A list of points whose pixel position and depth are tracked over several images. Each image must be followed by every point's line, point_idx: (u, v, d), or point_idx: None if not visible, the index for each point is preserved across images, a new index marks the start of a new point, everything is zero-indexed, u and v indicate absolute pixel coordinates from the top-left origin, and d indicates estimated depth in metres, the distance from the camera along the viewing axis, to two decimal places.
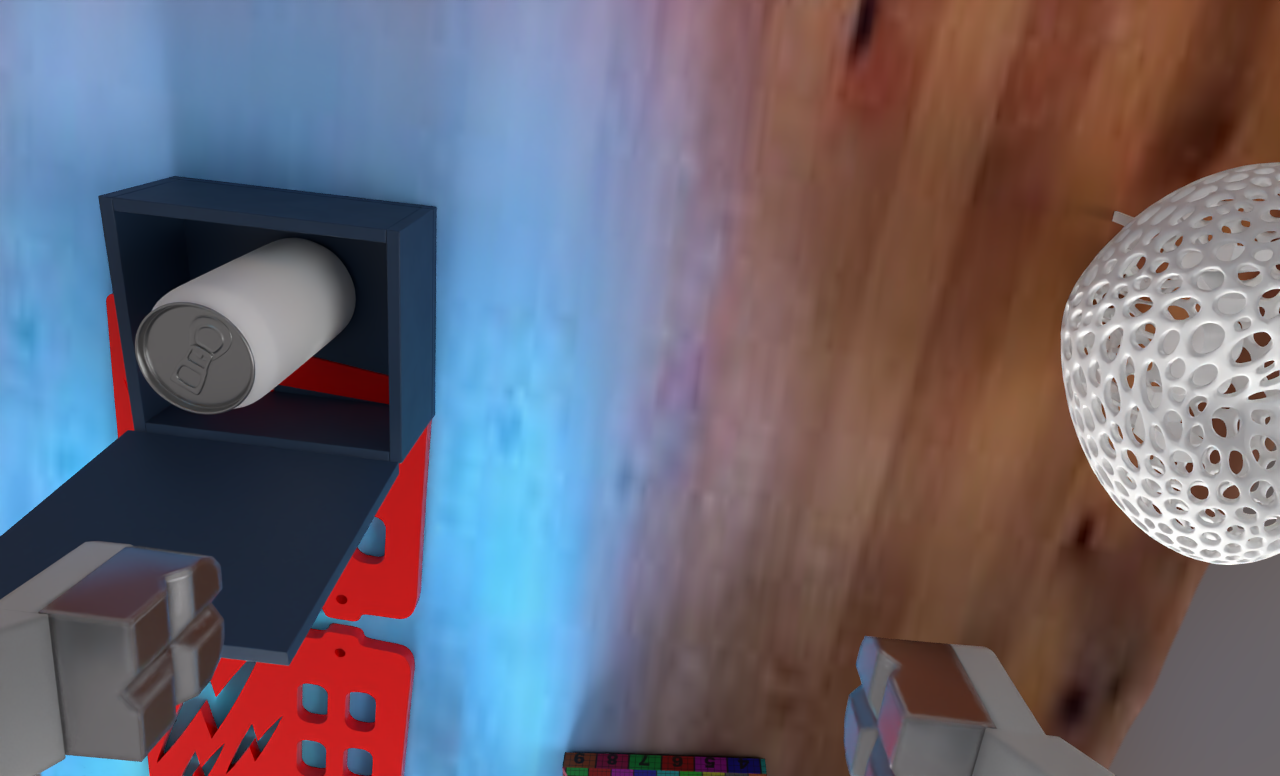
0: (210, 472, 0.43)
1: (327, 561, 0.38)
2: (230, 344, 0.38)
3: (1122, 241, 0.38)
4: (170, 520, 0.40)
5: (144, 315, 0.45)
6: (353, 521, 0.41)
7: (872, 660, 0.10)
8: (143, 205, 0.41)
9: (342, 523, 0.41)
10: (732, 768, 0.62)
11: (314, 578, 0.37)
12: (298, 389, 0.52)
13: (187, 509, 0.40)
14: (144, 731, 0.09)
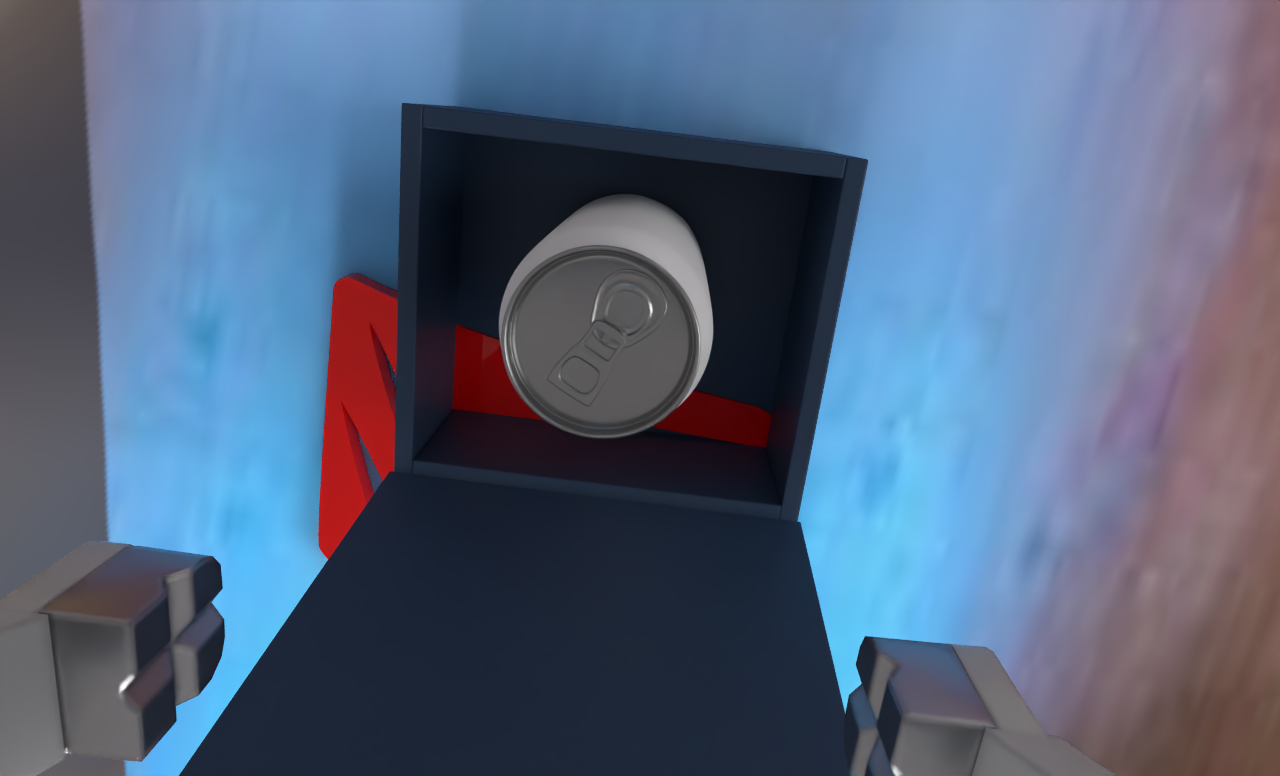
0: (544, 536, 0.27)
1: (819, 690, 0.22)
2: (662, 319, 0.23)
3: None
4: (527, 615, 0.24)
5: (427, 297, 0.30)
6: (807, 617, 0.25)
7: (872, 660, 0.10)
8: (470, 118, 0.27)
9: (795, 621, 0.25)
10: None
11: (822, 723, 0.21)
12: None
13: (544, 597, 0.25)
14: (144, 731, 0.09)
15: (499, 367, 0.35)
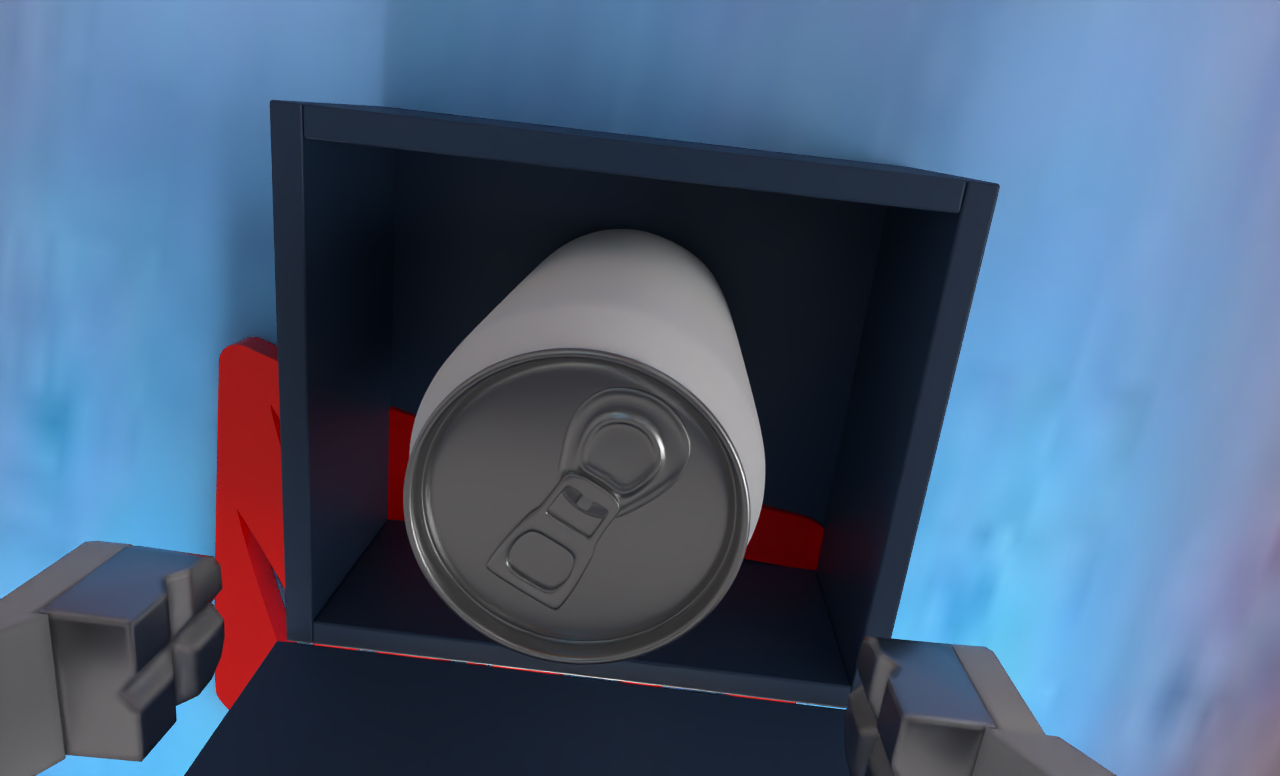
0: (497, 767, 0.18)
1: None
2: (683, 470, 0.13)
3: None
4: None
5: (329, 387, 0.20)
6: None
7: (872, 661, 0.10)
8: (377, 123, 0.17)
9: None
10: None
11: None
12: None
13: None
14: (144, 731, 0.09)
15: None
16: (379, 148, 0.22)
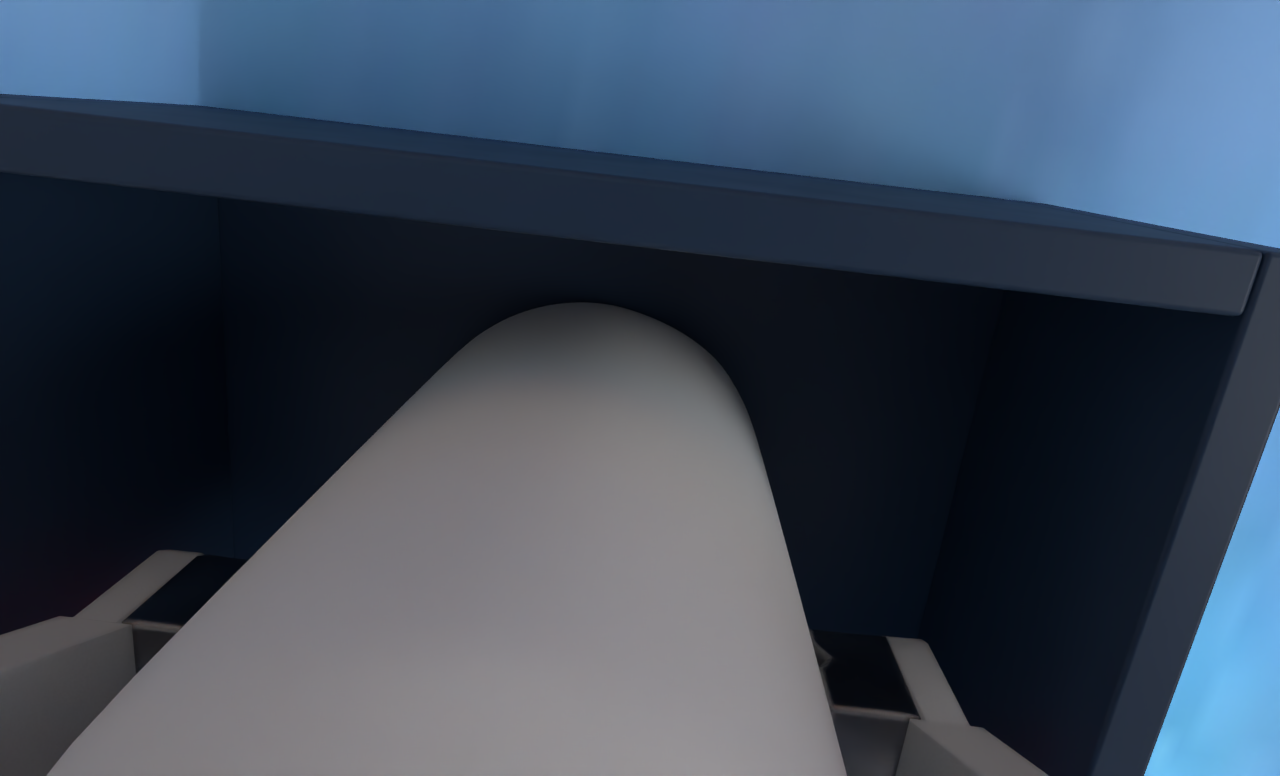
0: None
1: None
2: None
3: None
4: None
5: (57, 595, 0.12)
6: None
7: None
8: (54, 132, 0.08)
9: None
10: None
11: None
12: None
13: None
14: None
15: None
16: None
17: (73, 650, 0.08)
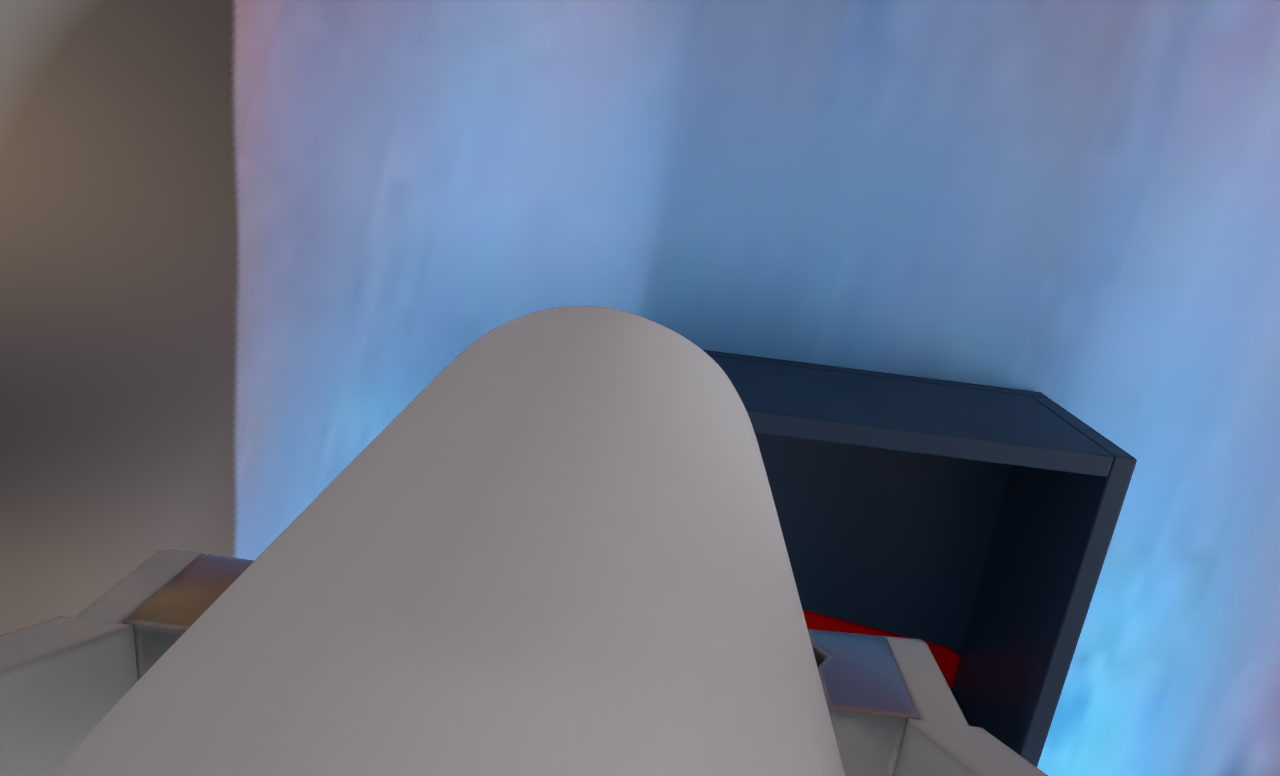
0: None
1: None
2: None
3: None
4: None
5: None
6: None
7: None
8: None
9: None
10: None
11: None
12: None
13: None
14: None
15: None
16: None
17: (73, 650, 0.08)
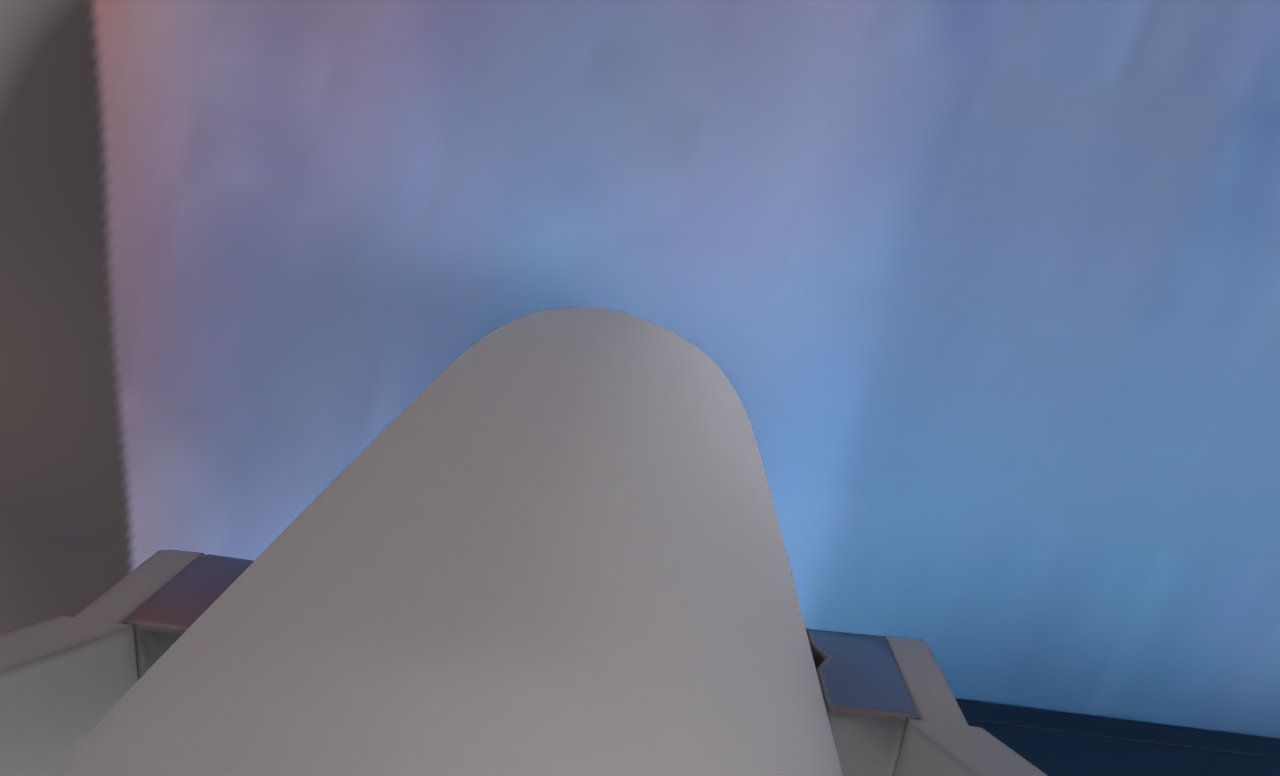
0: None
1: None
2: None
3: None
4: None
5: None
6: None
7: None
8: None
9: None
10: None
11: None
12: None
13: None
14: None
15: None
16: None
17: (73, 651, 0.08)
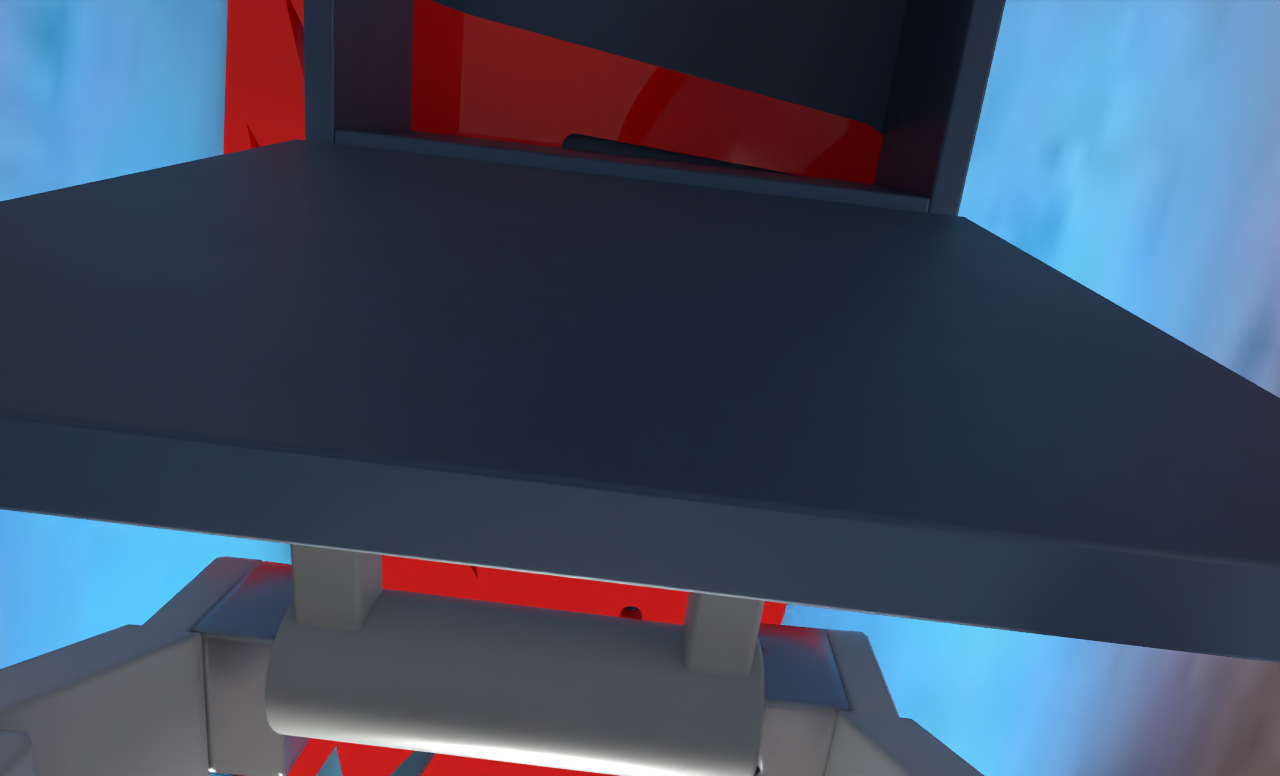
0: (547, 190, 0.16)
1: (1134, 333, 0.10)
2: None
3: None
4: (516, 234, 0.12)
5: None
6: (1043, 275, 0.13)
7: None
8: None
9: (1024, 276, 0.13)
10: None
11: (1177, 364, 0.09)
12: (615, 144, 0.25)
13: (548, 224, 0.13)
14: (287, 749, 0.09)
15: (479, 63, 0.24)
16: None
17: (145, 660, 0.08)
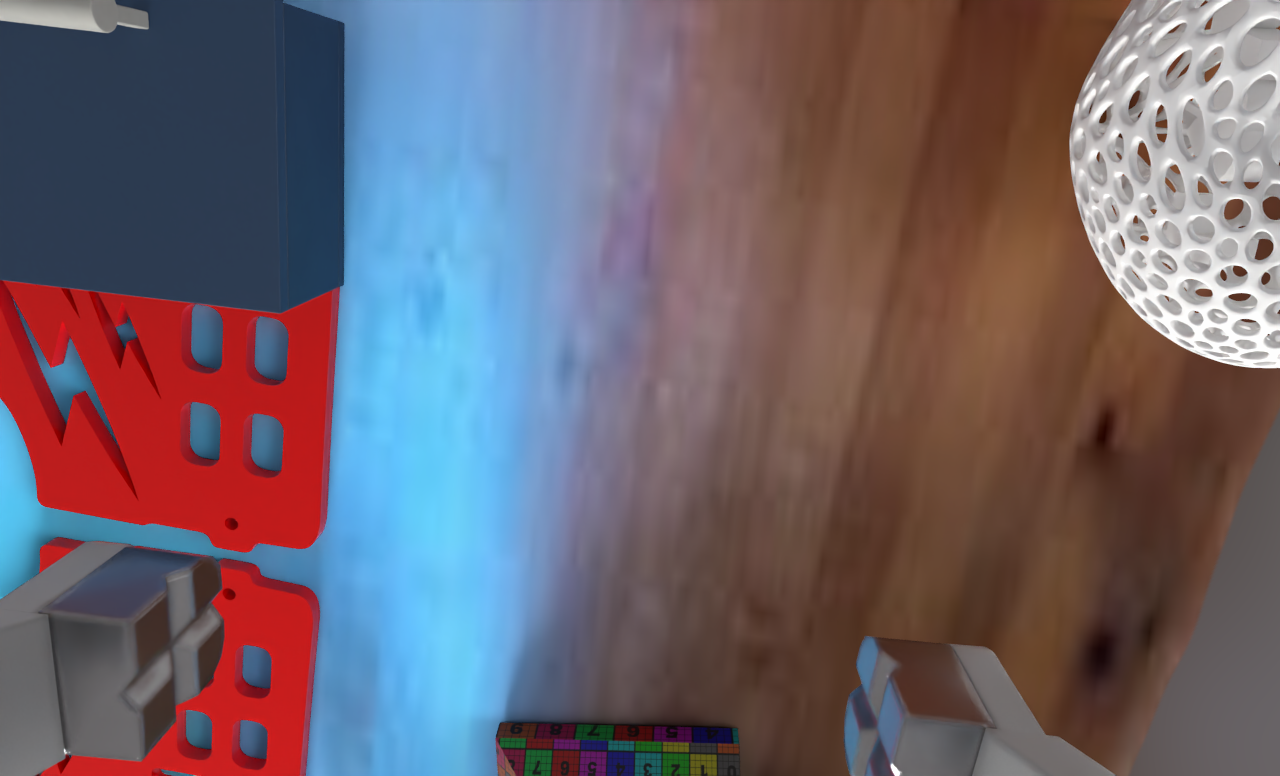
0: None
1: None
2: None
3: None
4: None
5: None
6: None
7: (872, 660, 0.10)
8: None
9: None
10: (698, 738, 0.52)
11: None
12: None
13: None
14: (144, 731, 0.09)
15: None
16: None
17: None
